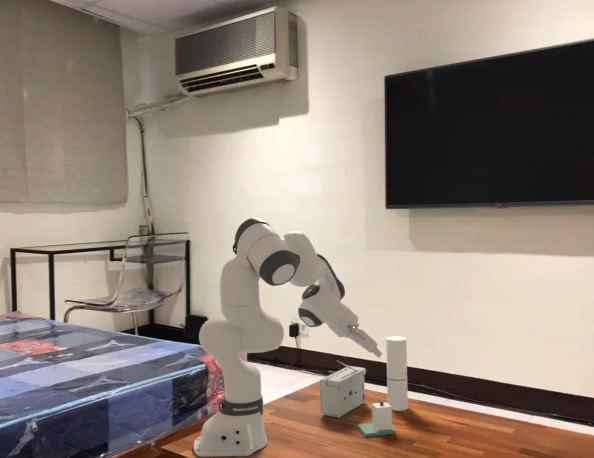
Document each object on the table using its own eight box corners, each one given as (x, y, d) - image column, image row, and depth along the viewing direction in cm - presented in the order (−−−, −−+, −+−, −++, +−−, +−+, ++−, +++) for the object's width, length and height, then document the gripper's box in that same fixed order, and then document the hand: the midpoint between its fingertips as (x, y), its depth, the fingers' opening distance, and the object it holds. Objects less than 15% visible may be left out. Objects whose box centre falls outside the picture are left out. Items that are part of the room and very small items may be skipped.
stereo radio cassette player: (348, 399, 208) (347, 346, 208) (368, 402, 203) (366, 349, 203) (319, 416, 191) (317, 358, 190) (339, 420, 186) (338, 361, 186)
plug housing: (377, 430, 173) (376, 405, 173) (372, 424, 178) (371, 400, 178) (392, 428, 174) (391, 403, 174) (386, 423, 179) (386, 399, 179)
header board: (365, 436, 171) (365, 426, 171) (357, 427, 179) (357, 417, 179) (395, 433, 173) (395, 423, 173) (387, 424, 181) (386, 414, 181)
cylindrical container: (410, 406, 198) (409, 337, 198) (403, 412, 192) (401, 341, 192) (392, 403, 202) (390, 335, 202) (384, 408, 196) (382, 339, 196)
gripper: (361, 321, 164) (393, 352, 166) (342, 311, 184) (371, 338, 186) (347, 337, 163) (379, 367, 165) (330, 325, 183) (359, 352, 185)
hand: (375, 352), depth 176 cm, fingers open, 8 cm apart
